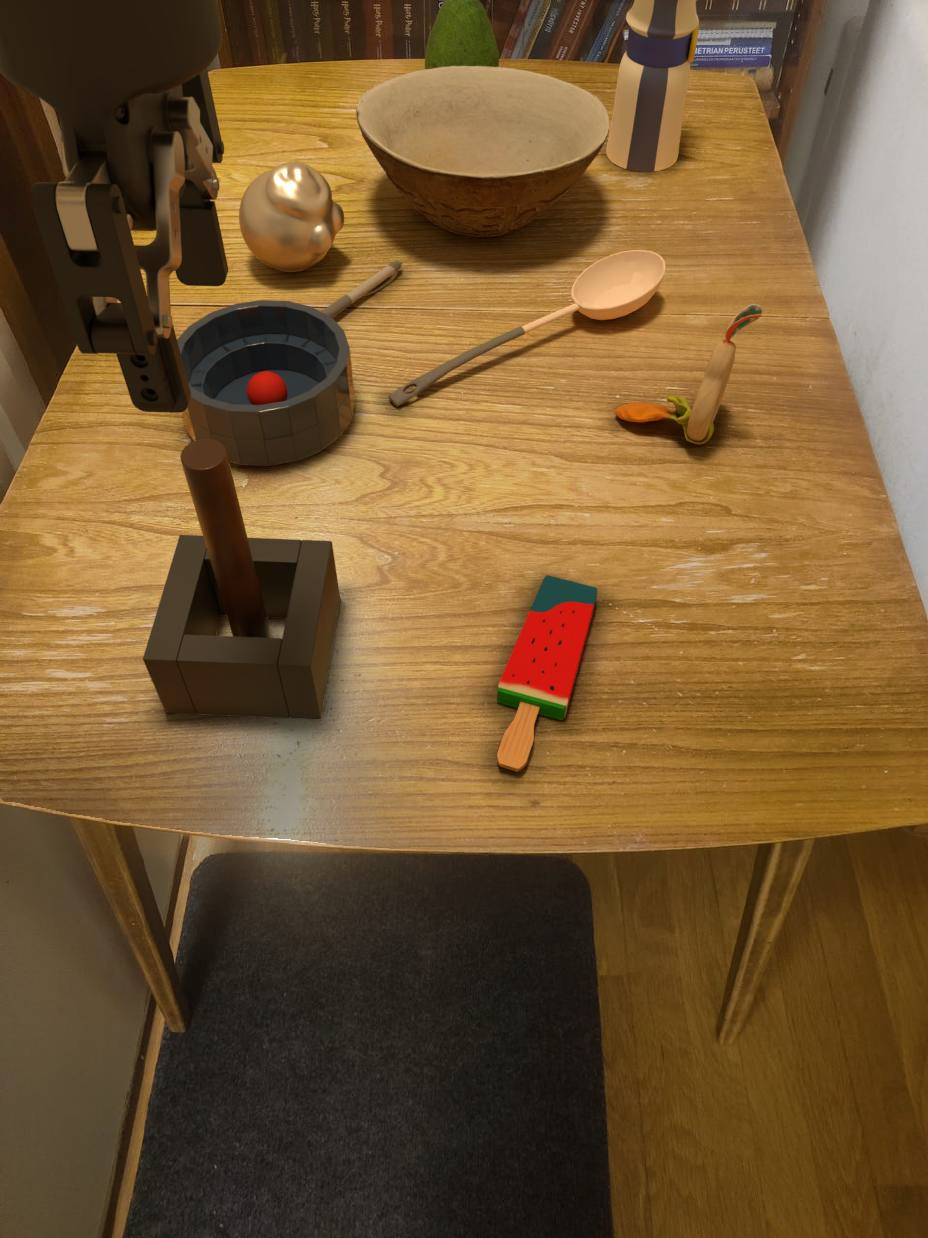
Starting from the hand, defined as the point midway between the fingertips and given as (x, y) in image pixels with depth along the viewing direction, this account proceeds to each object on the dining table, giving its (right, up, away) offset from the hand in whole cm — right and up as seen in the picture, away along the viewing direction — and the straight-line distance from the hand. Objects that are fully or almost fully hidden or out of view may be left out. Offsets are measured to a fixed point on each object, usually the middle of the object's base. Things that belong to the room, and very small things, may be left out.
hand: (185, 340), depth 43 cm
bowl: (+14, +29, +58) cm, 67 cm away
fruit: (+12, +46, +71) cm, 86 cm away
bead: (-4, +6, +37) cm, 38 cm away
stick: (-2, -14, +24) cm, 28 cm away
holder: (-2, -14, +24) cm, 28 cm away
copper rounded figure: (-4, +21, +52) cm, 56 cm away
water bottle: (+31, +38, +65) cm, 82 cm away
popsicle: (+17, -16, +23) cm, 33 cm away
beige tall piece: (+29, +4, +39) cm, 49 cm away
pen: (+2, +16, +48) cm, 51 cm away
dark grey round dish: (-4, +5, +39) cm, 39 cm away
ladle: (+18, +12, +45) cm, 50 cm away
